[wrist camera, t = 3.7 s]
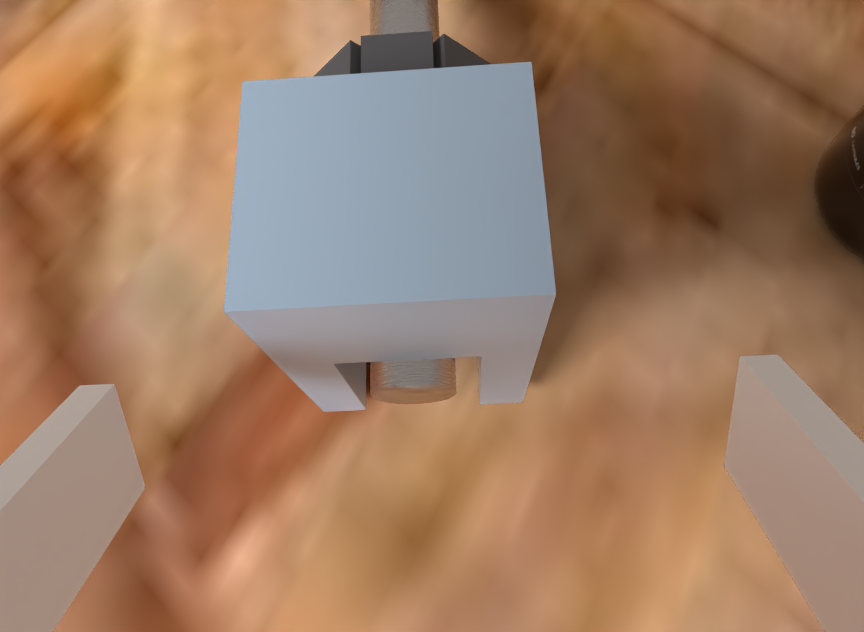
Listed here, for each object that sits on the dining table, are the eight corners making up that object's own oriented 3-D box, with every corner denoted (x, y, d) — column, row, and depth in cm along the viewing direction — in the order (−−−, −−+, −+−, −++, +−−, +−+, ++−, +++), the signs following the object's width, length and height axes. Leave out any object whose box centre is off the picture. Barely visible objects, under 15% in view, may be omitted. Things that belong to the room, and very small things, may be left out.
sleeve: (523, 402, 23) (556, 294, 14) (323, 411, 23) (224, 311, 14) (510, 247, 25) (531, 61, 16) (327, 257, 26) (242, 81, 16)
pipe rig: (522, 422, 24) (540, 369, 17) (329, 431, 24) (275, 382, 18) (481, -84, 33) (482, -246, 26) (339, -73, 33) (306, -230, 26)
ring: (496, 187, 25) (503, 74, 19) (334, 196, 25) (292, 89, 20) (493, 146, 26) (499, 26, 20) (335, 156, 26) (295, 40, 20)
